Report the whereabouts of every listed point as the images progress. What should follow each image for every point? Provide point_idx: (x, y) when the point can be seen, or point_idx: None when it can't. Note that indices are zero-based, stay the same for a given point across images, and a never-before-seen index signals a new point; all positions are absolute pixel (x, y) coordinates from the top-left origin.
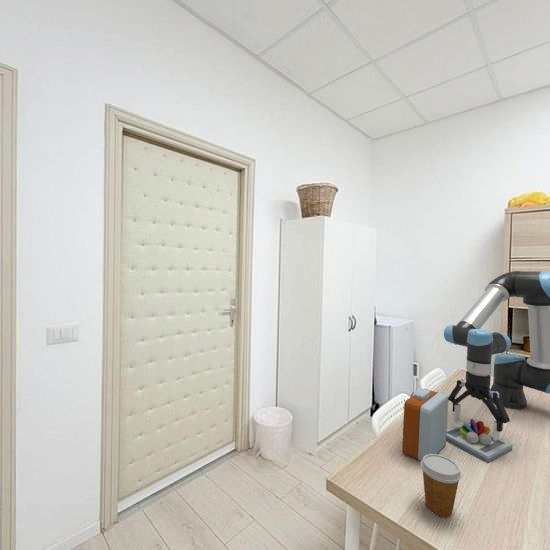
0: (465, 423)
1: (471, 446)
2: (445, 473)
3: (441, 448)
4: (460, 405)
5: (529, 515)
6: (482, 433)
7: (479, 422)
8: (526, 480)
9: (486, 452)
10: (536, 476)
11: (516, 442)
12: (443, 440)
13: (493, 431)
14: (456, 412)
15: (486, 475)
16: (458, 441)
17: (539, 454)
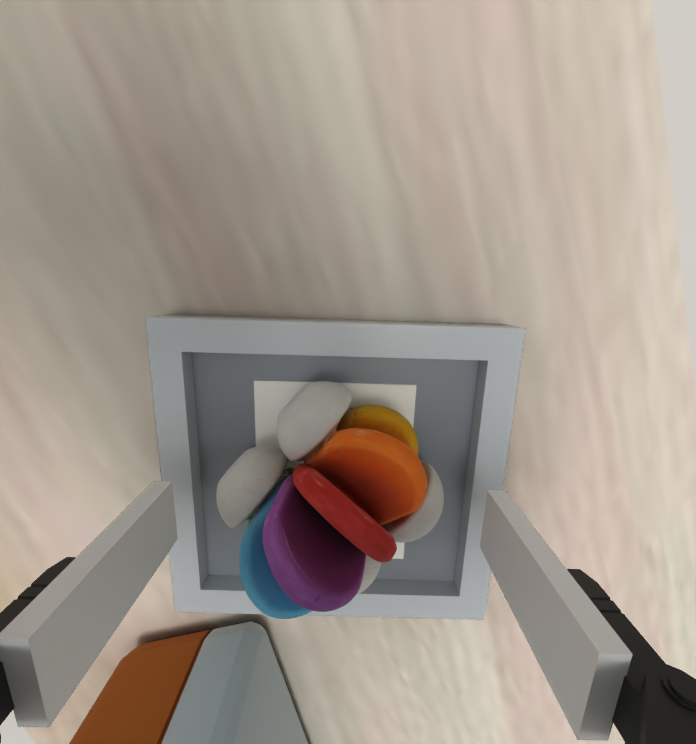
0: (270, 615)
1: (380, 603)
2: None
3: (286, 689)
4: (43, 630)
5: None
6: (394, 535)
7: (342, 532)
8: (638, 565)
9: (461, 590)
10: (667, 490)
11: (484, 163)
12: (270, 707)
13: (513, 608)
14: (117, 625)
15: (506, 676)
16: (307, 614)
17: (638, 199)
